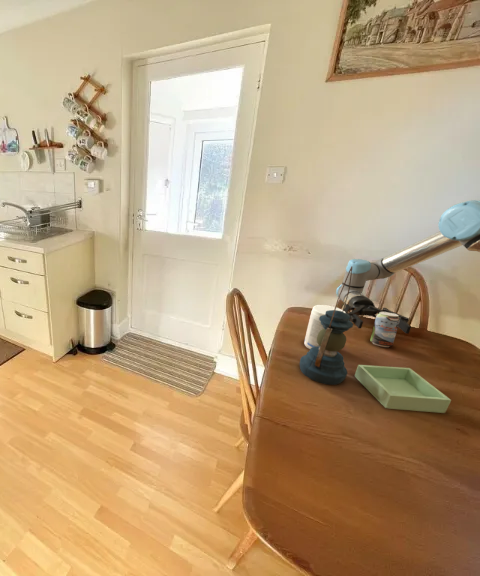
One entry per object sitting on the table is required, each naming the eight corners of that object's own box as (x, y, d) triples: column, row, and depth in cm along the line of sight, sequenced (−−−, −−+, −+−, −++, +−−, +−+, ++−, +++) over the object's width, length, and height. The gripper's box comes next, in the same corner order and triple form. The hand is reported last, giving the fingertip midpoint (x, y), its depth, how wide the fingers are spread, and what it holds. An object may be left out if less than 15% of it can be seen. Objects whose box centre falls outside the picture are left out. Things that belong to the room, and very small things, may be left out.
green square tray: (404, 380, 93) (409, 367, 91) (444, 414, 80) (451, 400, 79) (353, 377, 95) (358, 364, 93) (385, 409, 82) (390, 395, 81)
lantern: (336, 394, 88) (373, 277, 75) (290, 374, 97) (317, 267, 84) (350, 373, 96) (386, 265, 84) (307, 357, 105) (334, 257, 92)
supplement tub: (342, 356, 105) (354, 317, 100) (312, 355, 106) (323, 316, 101) (325, 341, 114) (335, 304, 109) (298, 340, 115) (307, 304, 110)
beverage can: (375, 348, 109) (385, 318, 104) (363, 338, 115) (373, 308, 111) (396, 350, 107) (408, 319, 103) (383, 339, 114) (394, 310, 110)
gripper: (393, 315, 126) (425, 342, 107) (321, 308, 134) (339, 331, 115) (399, 298, 123) (433, 322, 104) (325, 292, 131) (344, 313, 112)
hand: (384, 327), depth 110 cm, fingers open, 13 cm apart
